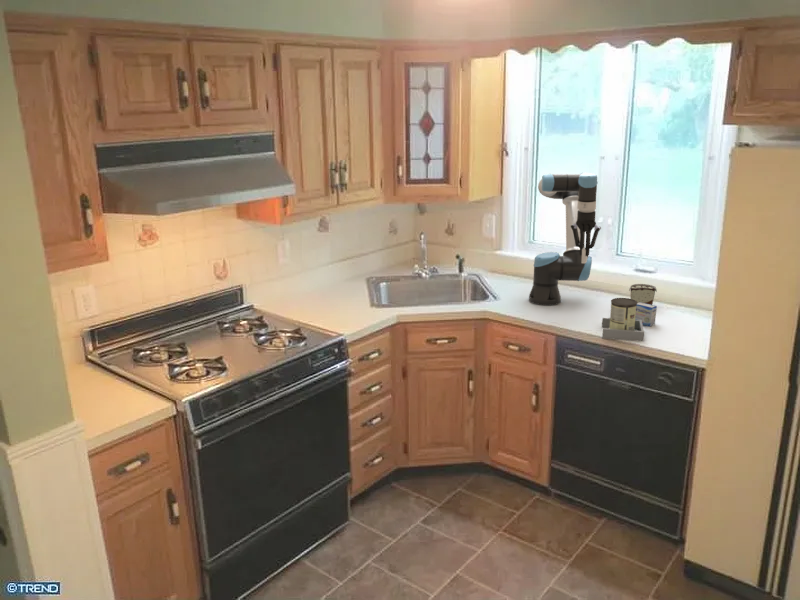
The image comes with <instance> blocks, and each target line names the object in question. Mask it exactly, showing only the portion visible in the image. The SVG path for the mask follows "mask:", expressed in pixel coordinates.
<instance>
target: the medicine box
mask: <svg viewBox="0 0 800 600" xmlns="http://www.w3.org/2000/svg"><path fill="white" fill-rule="evenodd" d="M656 316H657V305H654V304H652V305H650V304H646V303H641V302H639V303H637V306H636V318H635V320H642V324H643V326H646V327H652V326H654V325H655V324H656Z"/></svg>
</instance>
